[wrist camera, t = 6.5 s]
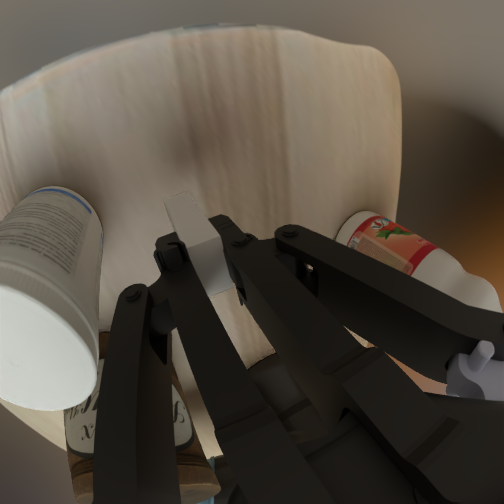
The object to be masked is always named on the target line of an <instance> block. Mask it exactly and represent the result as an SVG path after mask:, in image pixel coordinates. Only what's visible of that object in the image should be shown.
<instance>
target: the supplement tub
mask: <svg viewBox="0 0 504 504" xmlns="http://www.w3.org/2000/svg"><path fill="white" fill-rule="evenodd" d="M102 252H103V232H102V227H101V223H100V221H99V218H98V216H97V214H96V212H95V211H94V209H93V208H92V206H91V205H90V204H89V203H88V202H87V201H86V200H85V199H84V198H83V197H82V196H80V195H79V194H77V193H76V192H74V191H72V190H70V189H67V188H64V187H59V186H48V187H43V188H40V189H37V190H35V191H33V192H31V193H30V194H29V195H27V196H26V197H25V198H24V199H23V200H22V201H21V202H19V203H18V204H17V205H16V206H15V207H14V208H13V209H12V211H11V212H10V213H9V214H8V215H7V216H6V217H5V218H4V219H3V220H2V221H1V222H0V398H2V399H4V400H6V401H8V402H10V403H13V404H15V405H18V406H21V407H25V408H29V409H34V410H42V411H57V410H63V409H67V408H71V407H74V406H76V405H78V404H80V403H81V402H83V401H84V400H85V399H87V398H88V397H89V396H90V394H91V393H92V391H93V390H94V387H95V385H96V381H97V366H98V360H99V290H100V274H101V263H102Z"/></svg>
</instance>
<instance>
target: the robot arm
mask: <svg viewBox="0 0 504 504" xmlns="http://www.w3.org/2000/svg"><path fill="white" fill-rule="evenodd" d="M163 200H164V203H165V206H166V209H167V212H168V216H169V219H170V222H171V225H172V228H173V231H174V232H173V233H170V234H168V235H165V236H162V237H160V238H158V239H157V241H156V243H155V246H156V250H155V251H154V258H155V260H156V263H157V265H158V268H159V270H160V272H161V276H160V277H159V279H158V280H157V281H156V282H155V283H153V284H152V285H151V286H149V287H147V286H146V285H145V284H141V283H140V284H134V285H131V286H129V287H127V288H126V289H124V290H123V291H122V292H121V294H120V295H119V298H118V301H117V305H116V309H115V313H114V317H113V321H112V325H111V330H110V334H109V339H108V343H107V348H106V354H105V359H104V364H103V370H102V376H101V382H100V389H99V396H98V404H97V413H96V423H95V435H94V451H93V501H92V504H181V494H180V487H179V479H178V470H177V460H176V449H175V436H174V420H173V399H172V334H171V331H172V330H173V329H174V328H176V327H177V330H178V333H179V336H180V339H181V342H182V345H183V348H184V351H185V353H186V356H187V359H188V362H189V365H190V367H191V370H192V373H193V375H194V378H195V381H196V383H197V386H198V388H199V391H200V393H201V396H202V398H203V401H204V403H205V406H206V408H207V411H208V413H209V415H210V418H211V420H212V422H213V425H214V428H215V431H214V433H215V436H216V439H217V441H218V444H219V446H220V448H221V450H222V453H223V455H219V456H216V457H214V456H213V457H211V458H210V459H207V461H208V462H209V464H210V466H211V467H212V469H213V471H214V473H215V475H216V477H217V480H218V482H219V484H220V487H221V490H220V492H219V493H218V494H216V495H215V496H213V497H211V498H209V499H207V500H205V501H202V502H200V503H197V504H504V313H500V312H496V311H491V310H487V309H482V308H478V307H473V306H469V305H466V304H464V303H462V302H460V301H459V300H457V299H455V298H453V297H451V296H449V295H447V294H445V293H443V292H441V291H439V290H437V289H435V288H434V287H432V286H430V285H428V284H426V283H424V282H422V281H420V280H418V279H416V278H414V277H411V276H409V275H407V274H405V273H403V272H401V271H399V270H397V269H395V268H393V267H391V266H389V265H387V264H385V263H382V262H380V261H378V260H376V259H374V258H372V257H370V256H367V255H365V254H363V253H361V252H359V251H357V250H354V249H352V248H350V247H348V246H345V245H343V244H341V243H339V242H336V241H334V240H332V239H330V238H327V237H325V236H323V235H321V234H318V233H316V232H314V231H311V230H309V229H307V228H304V227H302V226H299V225H291V224H289V225H284V226H282V227H279V228H278V229H277V230H276V231H275V233H274V234H275V238H271V239H266V240H258V239H257V238H256V237H255V236H254V235H252V234H248V233H243V232H242V231H241V230H240V229H239V228H238V226H237V225H235V223H234V222H233V221H232V220H231V219H230V218H229V217H228V216H225V215H222V214H220V215H218V216H215V217H212V218H209V219H207V218H206V216H205V215H204V214H203V212H202V211H201V210H200V208H199V207H198V206H197V204H196V203H195V202H194V200H193V199H192V198H191V196H190V195H189V194H188V192H187V191H185V192H183V193H180V194H177V195H174V196H171V197H168V198H166V199H163ZM308 265H310V266H312V267H313V270H311V269H309V268H308ZM232 280H233V282H234V283H235V285H236V289H237V293H238V297H239V300H240V304H241V306H242V305H243V303H244V304H245V306H246V307H247V309H248V310H249V312H250V313H251V315H252V316H253V318H254V319H255V321H256V322H257V324H258V325H259V327H260V328H261V330H262V331H263V333H264V334H265V336H266V337H267V339H268V340H269V342H270V343H271V345H272V346H273V348H274V349H275V351H276V352H277V354H274V355H272V356H270V357H268V358H266V359H264V360H262V361H260V362H259V363H257V364H256V365H254V366H253V367H252V368H250V369H249V370H247V369H246V367H245V365H244V363H243V362H242V360H241V358H240V356H239V354H238V352H237V351H236V349H235V347H234V345H233V343H232V341H231V340H230V338H229V336H228V334H227V332H226V330H225V328H224V326H223V324H222V322H221V321H220V319H219V317H218V315H217V313H216V311H215V309H214V307H213V305H212V303H211V301H210V299H209V297H211V296H213V295H216V294H218V293H221V292H223V291H226V290H228V289H230V288H233V287H234V286H233V283H232ZM242 301H243V302H242ZM344 326H345V327H346V328H348V329H349V330H351V331H352V332H354V333H356V334H357V335H359V336H360V337H362V338H363V339H365V340H367V341H368V342H370V343H372V344H373V345H374V346H376V347H370V348H366V347H364V346H362V345H361V344H360V343H359V342H358V341H357V340H356V339H355V338H354V337H353V336H352V335H351V333H350V332H349V331H348V330H347V329H346V328H345V327H344ZM377 347H378V348H377ZM385 352H386V353H387V354H389V355H391V356H392V357H394V358H395V359H397V360H398V361H400V362H402V363H403V364H405V365H406V366H408V367H410V368H411V369H413V370H414V371H416V372H418V373H420V374H422V375H423V376H425V377H428V378H430V379H432V380H435V381H438V382H441V383H445V384H447V387H446V393H447V395H440V394H434V393H428V392H423V391H422V390H421V389H420V388H419V387H418V386H417V385H416V384H415V383H414V382H413V380H411V379H410V377H409V376H408V375H406V373H405V372H404V371H403V370H402V369H401V368H400V367H399V366H398V365H397V364H396V363H395V362H394V361H393V360H392V359H391V358H390V357H389V356H388V355H387V354H386V353H385ZM457 396H459V397H457Z"/></svg>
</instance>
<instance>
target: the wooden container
mask: <svg viewBox="0 0 504 504" xmlns="http://www.w3.org/2000/svg"><path fill="white" fill-rule="evenodd" d="M109 334H110V332H105V333H99V360H98V366H97V381H96V385H95V387H94V390H93V391H92V393H91V394H90V396H89V397H88V398H87V399H85V400H84V401H83V402H81V403H80V404H78V405H76V406H74V407H71V408H67V409H64V425H65V436H66V445H67V453H68V461H69V467H70V471H71V477H72V484H73V490H74V494H75V498H76V501H77V502H78V503H79V504H92V501H93V451H94V435H95V423H96V413H97V404H98V396H99V389H100V382H101V376H102V370H103V364H104V359H105V354H106V348H107V343H108V339H109ZM172 399H173V420H174V436H175V449H176V460H177V470H178V479H179V487H180V494H181V504H197V503H200V502H202V501H205V500H207V499H209V498H211V497H213V496H215V495H216V494H218V493H219V492H220V490H221V487H220V484H219V482H218V480H217V477H216V475H215V473H214V471H213V469H212V467H211V466H210V464H209V462H208V461H207V459H206V457H205V454H204V452H203V449H202V446H201V444H200V441H199V439H198V436H197V433H196V431H195V428H194V425H193V422H192V419H191V416H190V413H189V410H188V407H187V404H186V400H185V397H184V395H183V392H182V388H181V385H180V383H179V381H178V377H177V374H176V371H175V368H174V365H173V362H172Z"/></svg>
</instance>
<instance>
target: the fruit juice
mask: <svg viewBox="0 0 504 504" xmlns="http://www.w3.org/2000/svg"><path fill="white" fill-rule="evenodd" d="M335 241H336V242H339V243H341V244H343V245H345V246H348V247H350V248H352V249H354V250H357V251H359V252H361V253H363V254H365V255H367V256H370V257H372V258H374V259H376V260H378V261H380V262H382V263H385V264H387V265H389V266H391V267H393V268H395V269H397V270H399V271H401V272H403V273H405V274H407V275H409V276H411V277H414V278H416V279H418V280H420V281H422V282H424V283H426V284H428V285H430V286H432V287H434V288H435V289H437V290H439V291H441V292H443V293H445V294H447V295H449V296H451V297H453V298H455V299H457V300H459V301H460V302H462V303H464V304H466V305H469V306H473V307H478V308H482V309H487V310H491V311H496V312H500V313H503V312H502V309H501V306H500V302H499V299H498V295H497V293H496V290H495V289H494V287H493V286H492V285H491V284H490V283H489V282H488V281H486V280H485V279H483V278H481V277H478V276H475V275H472V274H469V273H467V272H466V271H465V270H464V269H463V268H462V266H461V265H460V263H459V262H458V261H457V260H456V259H454V258H453V257H452V256H451V255H449V254H448V253H446V252H445V251H443V250H441V249H440V248H438V247H436V246H435V245H433V244H431V243H430V242H428V241H426V240H425V239H423V238H421V237H419V236H417V235H416V234H414V233H412V232H410V231H409V230H407V229H405V228H403V227H402V226H400V225H398V224H396V223H394V222H392V221H390V220H388V219H387V218H385V217H383V216H381V215H379V214H377V213H374V212H371V211H361V212H358V213H356V214H354V215H353V216H351V217H350V218H349V219H348V220H347V221H346V222H345V223H344V225H343V226H342V228H341V229H340V231H339V233H338V235H337V237H336V240H335Z"/></svg>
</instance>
